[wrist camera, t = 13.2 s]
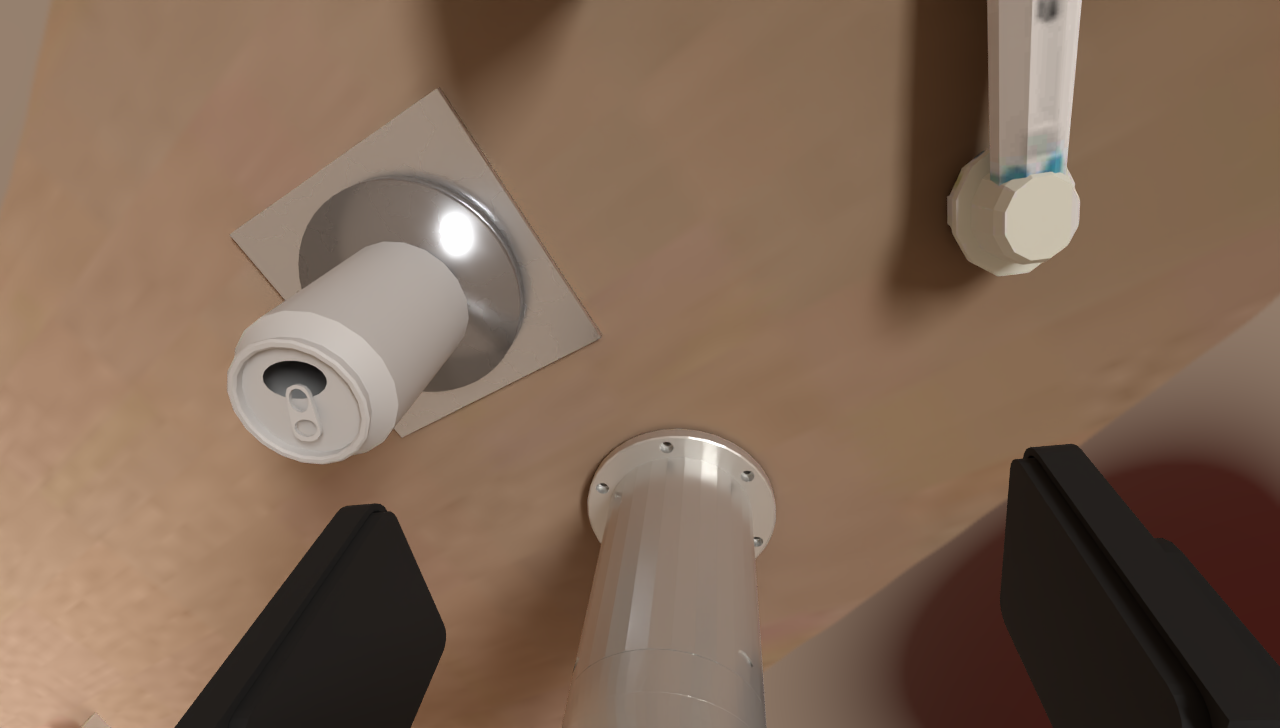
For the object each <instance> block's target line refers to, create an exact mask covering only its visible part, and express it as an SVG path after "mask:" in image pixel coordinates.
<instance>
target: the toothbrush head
mask: <svg viewBox="0 0 1280 728" xmlns="http://www.w3.org/2000/svg"><path fill="white" fill-rule="evenodd" d="M1081 3H1082V0H987V22H988V80H989V137H990V148H988V149H987V150H986V151H983V152H981V153H980V154H979V155H978V156H976V157H975V158H974V159H973V160H971V161H970V162H969V163H968V164H966V165H965V166H964V167H962V168H961V172H960V174H959V176H958V178H957V180H956V183H955V185H954V187H953V189H952V191H951V193H950V196H947V224H948V225H950V227H951V229H952V234H953V236H954V237H955V239H956V241H957V243H958V245H959V246H960V248H961V250H962V252H963V254H964V255H965V257H966V259H967V260H968V261H969V262H971V263H973V264H975V265H977V266H979V267H981V268H983V269H985V270H986V271H988V272H990V273H992V274H994V275H996V276H1005V275H1013V274H1022V273H1029V272H1030V271H1032V270H1033V269H1034V268H1036V267H1037V266H1038V265H1040V264H1041V263H1042V262H1046V261H1047V260H1049V259H1050V258H1051V257H1053V256H1054V255H1055V254H1057V253H1058V252H1059V251H1061V250H1062V249H1064V248H1065V247H1066V246H1067V245H1068V244H1069V242H1070V240H1071V238H1072V237H1073V235H1074V233H1075V231H1076V229H1077V227H1078V225H1079V211H1080V199H1079V196H1078V194H1077V192H1076V190H1075V182H1074V181H1073V179H1072V177H1071V175H1070V173H1069V171H1068V169H1067V156H1068V145H1069V134H1070V123H1071V112H1072V101H1073V90H1074V80H1075V69H1076V58H1077V47H1078V36H1079V25H1080V14H1081Z"/></svg>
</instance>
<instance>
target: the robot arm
mask: <svg viewBox="0 0 1280 728" xmlns="http://www.w3.org/2000/svg"><path fill="white" fill-rule="evenodd" d="M587 504H588V517H589V520H590V524H591V527H592V530H593V531H594V533H595V535H596V537H597V539H598V541H599V542H600V543H601V547H600V552H599V557H598V561H597V566H596V570H595V575H594V579H593V584H592V588H591V593H590V598H589V602H588V607H587V611H586V616H585V620H584V625H583V629H582V634H581V638H580V643H579V648H578V652H577V657H576V661H575V666H574V670H573V675H572V681H571V685H570V690H569V694H568V698H567V703H566V708H565V713H564V717H563V724H562V728H766V714H765V699H764V684H763V669H762V654H761V639H760V624H759V609H758V594H757V579H756V564H755V559H756V558H757V557H758V556H759V555H760V553H761V552H762V551H763V550H764V549H765V548H766V546H767V544H768V542H769V540H770V538H771V536H772V534H773V530H774V526H775V522H776V505H775V498H774V492H773V489H772V486H771V484H770V481H769V478H768V477H767V475H766V474H765V472H764V471H763V469H762V468H761V466H760V465H759V464H758V463H757V462H756V461H755V460H754V459H753V458H752V457H751V456H750V455H749V454H748V453H747V452H746V451H744V450H743V449H741V448H740V447H738V446H737V445H735V444H734V443H732V442H730V441H728V440H726V439H723V438H721V437H719V436H717V435H713V434H709V433H706V432H702V431H697V430H688V429H665V430H658V431H653V432H649V433H644V434H642V435H639V436H637V437H634V438H632V439H630V440H627V441H626V442H624V443H623V444H621V445H620V446H618V447H617V448H615V449H614V450H613V451H612V452H611V453H610V454H609V455H608V456H607V457H606V458H605V459H604V460H603V461H602V462H601V464H600V466H599V467H598V469H597V470H596V472H595V474H594V477H593V480H592V483H591V486H590V490H589V495H588V500H587ZM1000 605H1001V611H1002V615H1003V619H1004V622H1005V625H1006V627H1007V630H1008V631H1009V634H1010V636H1011V638H1012V640H1013V642H1014V645H1015V647H1016V649H1017V651H1018V653H1019V655H1020V657H1021V659H1022V662H1023V664H1024V666H1025V668H1026V670H1027V673H1028V675H1029V677H1030V679H1031V681H1032V683H1033V685H1034V687H1035V690H1036V692H1037V694H1038V696H1039V698H1040V700H1041V703H1042V705H1043V707H1044V709H1045V711H1046V713H1047V716H1048V718H1049V720H1050V722H1051V724H1052V726H1053V728H1280V666H1279V665H1278V664H1277V663H1276V662H1275V661H1274V659H1273V658H1272V657H1271V656H1270V655H1269V654H1268V652H1267V651H1266V650H1265V649H1264V648H1263V646H1262V645H1261V644H1260V643H1259V642H1258V641H1257V640H1256V638H1255V637H1254V636H1253V635H1252V634H1251V633H1250V631H1249V630H1248V629H1247V628H1246V627H1245V625H1244V624H1243V623H1242V622H1241V621H1240V619H1239V618H1238V617H1237V616H1236V615H1235V614H1234V613H1233V611H1232V610H1231V609H1230V608H1229V607H1228V605H1227V604H1226V603H1225V602H1224V601H1223V600H1222V598H1221V597H1220V596H1219V595H1218V594H1217V592H1216V591H1215V590H1214V589H1213V588H1212V587H1211V586H1210V584H1209V583H1208V582H1207V581H1206V580H1205V578H1204V577H1203V576H1202V575H1201V574H1200V573H1199V571H1198V570H1197V569H1196V568H1195V567H1194V565H1193V564H1192V563H1191V562H1190V561H1189V560H1188V558H1187V557H1186V556H1185V555H1184V554H1183V553H1182V552H1181V551H1180V550H1179V549H1178V548H1177V547H1176V546H1175V545H1174V544H1173V543H1172V542H1170V541H1168V540H1165V539H1163V538H1153V536H1152V535H1151V534H1150V533H1149V531H1148V530H1147V529H1146V528H1145V527H1144V525H1143V524H1142V523H1141V522H1140V521H1139V519H1138V518H1137V517H1136V516H1135V514H1134V513H1133V512H1132V511H1131V510H1130V508H1129V507H1128V506H1127V505H1126V503H1125V502H1124V501H1123V500H1122V499H1121V497H1120V496H1119V495H1118V494H1117V493H1116V491H1115V490H1114V489H1113V488H1112V486H1111V485H1110V484H1109V483H1108V482H1107V480H1106V479H1105V478H1104V477H1103V475H1102V474H1101V473H1100V472H1099V471H1098V469H1097V468H1096V467H1095V466H1094V464H1093V463H1092V462H1091V461H1090V460H1089V458H1088V457H1087V456H1086V455H1085V454H1084V452H1083V451H1082V450H1081V449H1080V448H1079V447H1078V446H1077V445H1074V444H1065V445H1053V446H1042V447H1030V448H1028V449H1026V451H1025V453H1024V457H1023V459H1015V460H1013V461H1012V463H1011V467H1010V478H1009V491H1008V503H1007V516H1006V529H1005V542H1004V555H1003V568H1002V581H1001V593H1000ZM445 642H446V630H445V626H444V624H443V621H442V619H441V617H440V614H439V612H438V610H437V608H436V605H435V603H434V601H433V599H432V596H431V594H430V592H429V590H428V587H427V585H426V583H425V581H424V578H423V576H422V574H421V572H420V569H419V567H418V565H417V563H416V560H415V558H414V556H413V553H412V551H411V549H410V547H409V544H408V542H407V540H406V538H405V535H404V533H403V531H402V529H401V526H400V524H399V522H398V520H397V518H396V516H395V514H393V513H392V512H387V510H386V508H385V507H384V506H382V505H381V504H364V505H352V506H345V507H343V508H341V509H340V510H339V511H338V512H337V513H336V515H335V516H334V517H333V519H332V520H331V521H330V523H329V524H328V525H327V526H326V528H325V529H324V530H323V532H322V533H321V534H320V536H319V537H318V538H317V540H316V541H315V542H314V544H313V545H312V546H311V548H310V549H309V550H308V552H307V553H306V554H305V556H304V557H303V558H302V560H301V561H300V562H299V564H298V565H297V566H296V568H295V569H294V570H293V571H292V573H291V574H290V575H289V577H288V578H287V579H286V581H285V582H284V583H283V585H282V586H281V587H280V589H279V590H278V591H277V593H276V594H275V595H274V597H273V598H272V599H271V601H270V602H269V603H268V605H267V606H266V607H265V609H264V610H263V611H262V613H261V614H260V615H259V616H258V618H257V619H256V620H255V622H254V623H253V624H252V626H251V627H250V628H249V630H248V631H247V632H246V634H245V635H244V636H243V638H242V639H241V640H240V642H239V643H238V644H237V646H236V647H235V648H234V650H233V651H232V652H231V654H230V655H229V656H228V657H227V659H226V660H225V661H224V663H223V664H222V665H221V667H220V668H219V669H218V671H217V672H216V673H215V675H214V676H213V677H212V679H211V680H210V681H209V683H208V684H207V685H206V687H205V688H204V689H203V691H202V692H201V693H200V695H199V696H198V697H197V699H196V700H195V701H194V702H193V704H192V705H191V706H190V708H189V709H188V710H187V712H186V713H185V714H184V716H183V717H182V718H181V720H180V721H179V722H178V724H177V725H176V726H175V728H411V725H412V723H413V721H414V718H415V716H416V714H417V711H418V709H419V707H420V704H421V702H422V700H423V697H424V695H425V693H426V690H427V688H428V686H429V683H430V681H431V679H432V676H433V674H434V672H435V669H436V667H437V665H438V662H439V660H440V658H441V655H442V653H443V650H444V647H445Z"/></svg>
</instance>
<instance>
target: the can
mask: <svg viewBox="0 0 1280 728" xmlns="http://www.w3.org/2000/svg"><path fill="white" fill-rule="evenodd" d="M468 319H469V316H468V308H467V299H466V297H465V295H464V292H463V290H462V288H461V286H460V284H459V281H458V280H457V278H456V277H455V276H454V275H453V274H452V272H451V271H450V270H449V269H448V268H447V266H446V265H445V264H444V263H443V262H442V261H440V260H439V259H437V258H436V257H434V256H433V255H432V254H430V253H429V252H427V251H426V250H424V249H421V248H418V247H415V246H413V245H410V244H407V243H403V242H380V243H377V244H373V245H370V246H366V247H364V248H363V249H361V250H360V251H358V252H357V253H355V254H354V255H352V256H351V257H349V258H348V259H346V260H345V261H343V262H342V263H340V264H339V265H337V266H336V267H334V268H333V269H331V270H330V271H329V272H327V273H326V274H324V275H323V276H321V277H320V278H318V279H317V280H315V281H314V282H312V283H311V284H309V285H308V286H306V287H305V288H303V289H302V290H300V291H299V292H297V293H296V294H294V295H293V296H291V297H290V298H288V299H287V300H286V301H284V302H283V303H281V304H280V305H278V306H277V307H275V308H274V309H272V310H271V311H269V312H268V313H266V314H265V315H263V316H262V317H260V318H259V319H258V320H257V321H255V322H254V323H253V324H252V325H250V326H249V327H248V328H247V329H245V330H244V332H243V334H242V336H241V338H240V340H239V342H238V344H237V346H236V348H235V357H234V359H233V361H232V363H231V365H230V367H229V370H228V375H227V392H228V395H229V398H230V401H231V404H232V407H233V410H234V412H235V413H236V415H237V416H238V418H239V419H240V421H241V422H242V424H243V425H244V427H245V428H246V429H247V430H248V431H249V432H250V433H251V434H252V435H253V436H254V437H255V438H256V439H257V440H259V441H260V442H261V443H262V444H263V445H265V446H267V447H268V448H270V449H272V450H273V451H275V452H277V453H278V454H280V455H282V456H284V457H287V458H290V459H293V460H296V461H299V462H302V463H312V464H324V465H325V464H329V463H334V462H339V461H343V460H345V459H346V458H348V457H349V456H352V455H357V454H362V453H366V452H368V451H370V450H371V449H373V448H374V447H376V446H378V445H379V444H381V443H382V442H384V440H385V439H386V438H387V437H388V435H389V434H390V433H391V431H392V430H393V429H394V428H395V426H396V425H397V424H398V422H399V421H400V420H401V419H402V417H403V416H404V415H405V413H406V412H407V411H408V410H409V408H410V407H411V406H412V404H413V403H414V402H415V401H416V399H417V398H418V397H419V395H420V394H421V393H422V392H423V390H424V389H425V388H426V386H427V385H428V384H429V383H430V381H431V380H432V379H433V377H434V376H435V375H436V374H437V372H438V371H439V370H440V368H441V367H442V366H443V364H444V363H445V362H446V361H447V359H448V358H449V357H450V355H451V354H452V353H453V352H454V350H455V349H456V348H457V346H458V345H459V343H460V342H461V340H462V339H463V337H464V336H465V332H466V328H467V324H468Z"/></svg>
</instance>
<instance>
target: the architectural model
mask: <svg viewBox="0 0 1280 728" xmlns="http://www.w3.org/2000/svg"><path fill="white" fill-rule="evenodd" d="M81 728H111V727H110V726H109V725H108V724H107V723H106V722H105V721H104V720H103V719H102V718H101V717H100V716H99V715H98V713H97V712H95V713H94V714H93V715H92V716H91V717H90V718H89V719H88V720H87V722H86V723H85V724H84V725H83V726H82V727H81Z"/></svg>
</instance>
